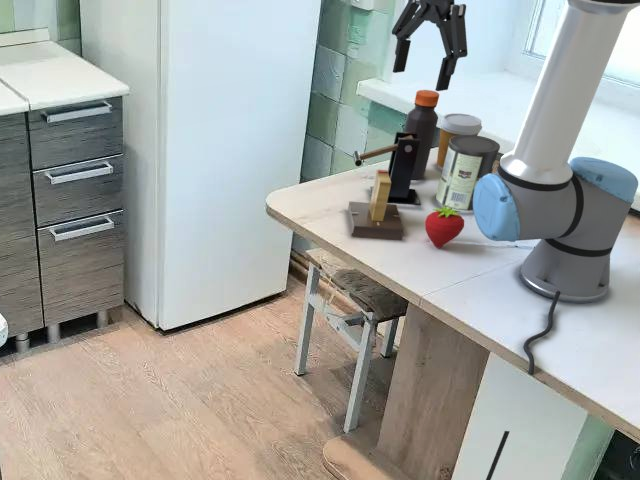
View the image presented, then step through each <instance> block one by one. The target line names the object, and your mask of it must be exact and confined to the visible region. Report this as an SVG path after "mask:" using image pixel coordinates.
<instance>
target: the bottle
mask: <svg viewBox="0 0 640 480" xmlns="http://www.w3.org/2000/svg"><path fill="white" fill-rule="evenodd" d="M414 97H415V98H414V103H413V104H414V108H412V109H411V110H409V111H408V112H407V115H406V120H405V122H404V128H403V132H417V133H418V135H417V139H420V140H421V141H420V145H419V150H418V154H417V158H416V162H415V166H414V171H413V175H412V179H411V181H412V182H413V181H421V180H423V179H424V177H425V174H426V169H427V166H428V161H429V157H430V155H431V149H432V146H433V142H434V137H435V133H436V129H437V124H438V121H439V116H438V114H437V112H436V111H435V108H436V107H437V105H438V102H439V98H440V93H439V92H438V91H436V90H432V89H431V90H430V89H419V90H417V91H416V93H415V96H414Z"/></svg>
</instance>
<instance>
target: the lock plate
mask: <svg viewBox="0 0 640 480" xmlns="http://www.w3.org/2000/svg"><path fill="white" fill-rule="evenodd" d="M369 207H370V202H366V201H365V202H362V201H349V202H348V207H347V210H348V215H349V220H350V226H351V231H352V232H351V237H352V238H362V239H377V240H388V241H389V240H390V241H391V240H392V241H402V240H403V236H404V232H405V229H404V226H403V222H402V219H401V217H402V216H401V215H400V212H399V210H398V206H397V204H393V203H387V205H386V209H385V214H384V218H383V221H372V218H371V213H370V209H369Z"/></svg>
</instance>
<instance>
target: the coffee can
mask: <svg viewBox="0 0 640 480" xmlns="http://www.w3.org/2000/svg"><path fill="white" fill-rule="evenodd" d="M500 149H501V145H500V144H499V143H498V142H497V141H496V140H494V139H492V138H489V137H486V136H481V135H477V136H476V135H457V136H454V137H452V138H450V140H449V147H448V151H447V154H446V158H445V162H444V166H443V168H442V171H441V174H440V178H439V183H438V186H437V191H436V194H435V200H436V201H437V202H438V203H439V204H440V205H442V206H444V207H445V206H446V208H448V209H449V208H452V210H456V211H473V195H474V190H475V187H476V184H477V182H478V181H479V180H480V178H482V177H483V176H485V175H487V174H489V173H490V174H493V170H494V166H495V164H496V161H497V157H498V153H499V151H500ZM448 204H449V205H448ZM447 205H448V206H447Z"/></svg>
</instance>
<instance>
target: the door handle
mask: <svg viewBox="0 0 640 480" xmlns="http://www.w3.org/2000/svg"><path fill="white" fill-rule="evenodd" d="M403 138H412V139H413V137H412V135H410V136H407V137H403ZM398 140H399V139H398ZM397 144H398V143H397ZM397 144H394V143H393V144H391V145H387V146H384V147H380V148H377V149H374V150H371V151H367V152H364V153H360V151H358V150H354V151H353V153H352V157H353V161H354V165H355V166H356V167H361V166H362V165H363V161H364V160H368V159H371V158H374V157H378V156H382V155H384V154H388V153H392V151H395V150H396V149H397Z"/></svg>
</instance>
